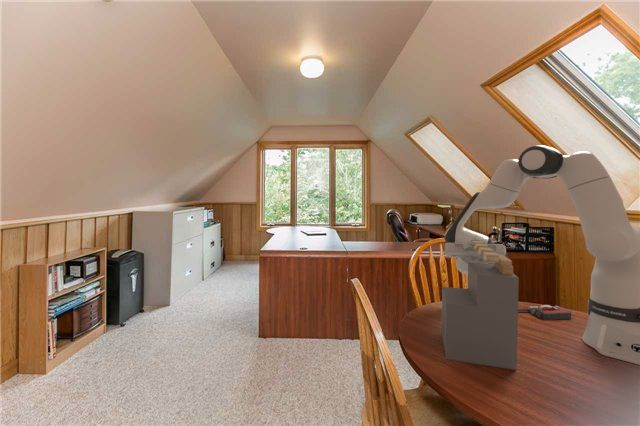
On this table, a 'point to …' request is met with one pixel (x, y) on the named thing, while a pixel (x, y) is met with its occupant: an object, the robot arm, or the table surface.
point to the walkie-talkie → (549, 312)
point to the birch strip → (485, 251)
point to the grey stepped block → (483, 316)
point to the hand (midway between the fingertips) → (477, 243)
